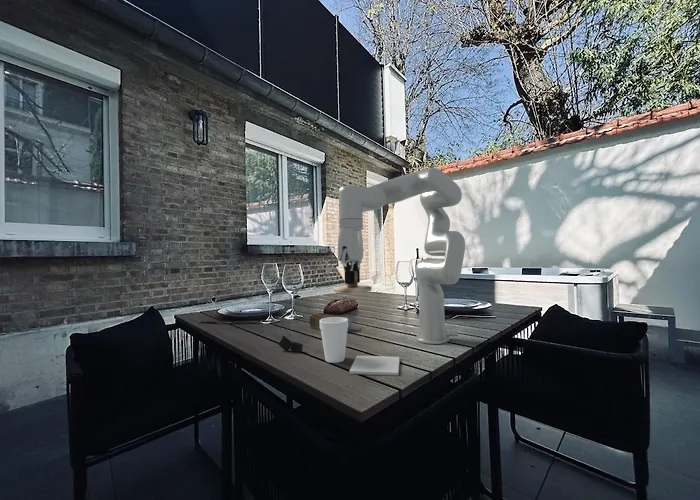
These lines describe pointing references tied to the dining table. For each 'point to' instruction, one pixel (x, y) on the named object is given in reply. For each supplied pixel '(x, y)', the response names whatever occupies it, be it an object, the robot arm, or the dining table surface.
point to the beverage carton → (317, 317)
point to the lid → (353, 287)
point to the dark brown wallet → (290, 344)
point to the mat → (375, 365)
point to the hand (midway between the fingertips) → (352, 282)
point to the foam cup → (334, 338)
